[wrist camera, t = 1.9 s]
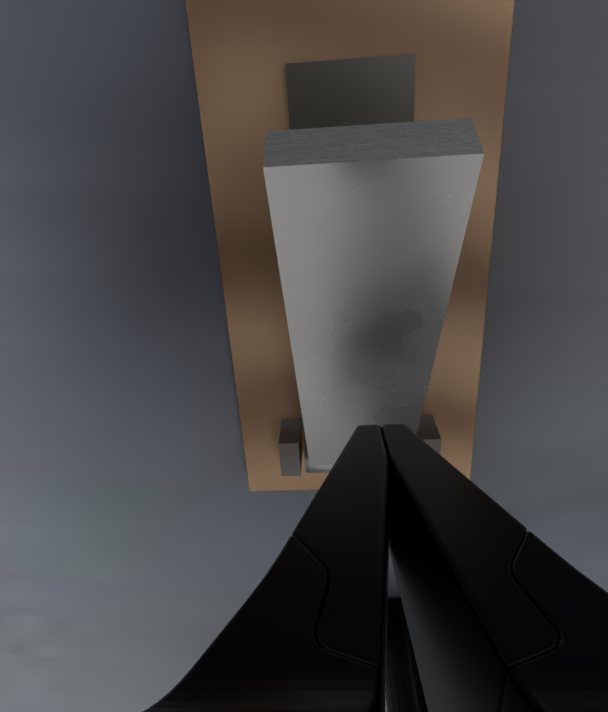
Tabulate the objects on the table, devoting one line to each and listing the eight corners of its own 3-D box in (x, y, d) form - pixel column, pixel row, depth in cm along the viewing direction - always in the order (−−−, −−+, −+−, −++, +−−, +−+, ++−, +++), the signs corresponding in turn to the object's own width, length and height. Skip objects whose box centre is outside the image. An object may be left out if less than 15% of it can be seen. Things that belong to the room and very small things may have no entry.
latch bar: (408, 444, 22) (412, 475, 21) (306, 447, 22) (306, 478, 21) (481, 114, 10) (496, 156, 9) (256, 129, 10) (251, 171, 9)
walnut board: (461, 465, 24) (480, 514, 21) (253, 471, 25) (243, 518, 22) (504, -55, 16) (546, -98, 13) (191, -28, 16) (161, -63, 13)
